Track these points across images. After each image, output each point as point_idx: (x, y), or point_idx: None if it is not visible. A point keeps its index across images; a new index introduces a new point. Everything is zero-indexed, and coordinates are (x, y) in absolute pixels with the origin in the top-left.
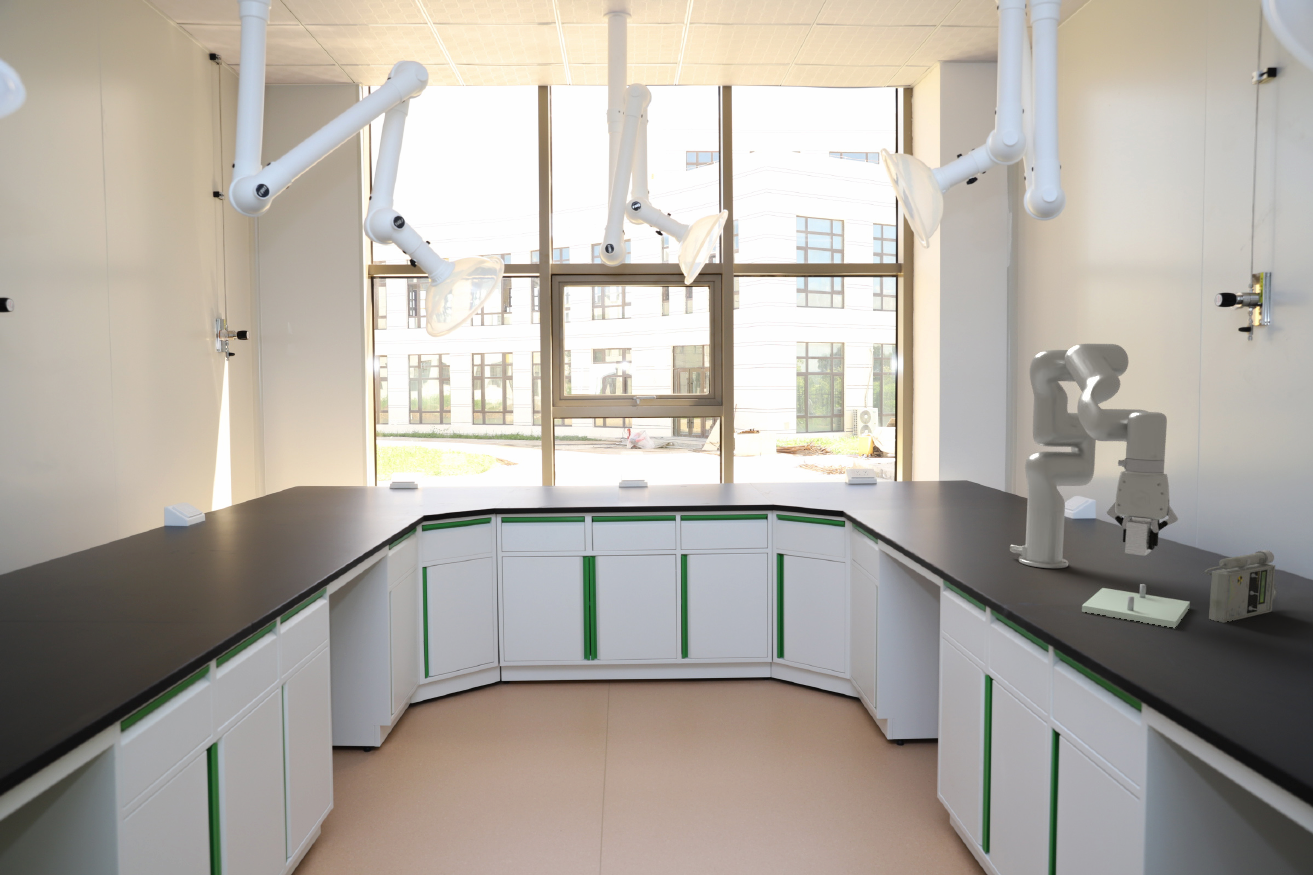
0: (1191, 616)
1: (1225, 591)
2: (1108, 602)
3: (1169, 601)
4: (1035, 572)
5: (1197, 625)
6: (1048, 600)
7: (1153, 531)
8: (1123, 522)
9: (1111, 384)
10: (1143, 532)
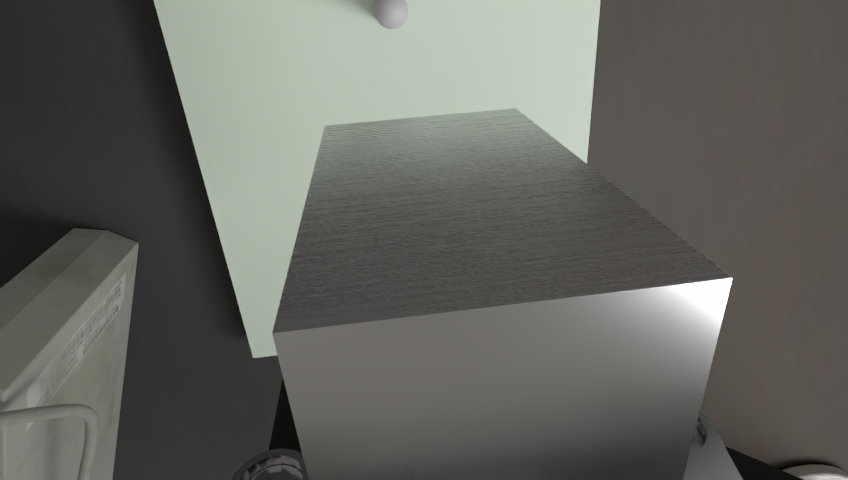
0: (201, 228)
1: None
2: (507, 82)
3: None
4: (803, 408)
5: (114, 93)
6: (753, 19)
7: (298, 456)
8: (726, 471)
9: None
10: (351, 224)
